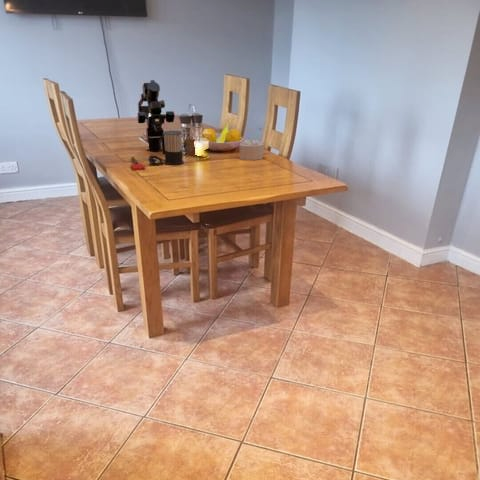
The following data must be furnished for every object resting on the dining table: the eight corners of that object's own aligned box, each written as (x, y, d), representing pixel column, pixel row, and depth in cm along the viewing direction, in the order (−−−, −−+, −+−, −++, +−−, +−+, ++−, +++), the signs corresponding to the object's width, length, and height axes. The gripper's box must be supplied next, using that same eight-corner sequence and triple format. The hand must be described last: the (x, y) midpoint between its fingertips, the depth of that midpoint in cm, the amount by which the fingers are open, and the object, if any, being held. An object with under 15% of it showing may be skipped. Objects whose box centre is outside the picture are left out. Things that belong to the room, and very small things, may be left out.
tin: (183, 153, 247) (182, 137, 243) (187, 152, 249) (187, 136, 245) (202, 158, 239) (201, 141, 234) (206, 157, 241) (206, 140, 236)
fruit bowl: (227, 156, 244) (227, 134, 238) (187, 149, 256) (186, 127, 250) (253, 147, 264) (254, 126, 258) (215, 141, 276) (215, 121, 270)
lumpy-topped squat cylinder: (265, 158, 243) (266, 141, 238) (246, 161, 236) (246, 143, 231) (253, 154, 250) (254, 137, 245) (234, 157, 243) (235, 140, 238)
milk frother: (187, 162, 230) (185, 131, 222) (166, 168, 219) (164, 136, 211) (165, 158, 237) (163, 128, 229) (145, 164, 225) (142, 132, 217)
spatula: (127, 159, 232) (127, 157, 231) (138, 159, 234) (138, 156, 233) (133, 170, 216) (133, 167, 215) (144, 169, 217) (144, 166, 216)
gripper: (135, 94, 225) (141, 122, 222) (172, 94, 230) (178, 121, 228) (135, 109, 236) (140, 136, 233) (170, 108, 241) (176, 134, 238)
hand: (159, 131), depth 233 cm, fingers closed
